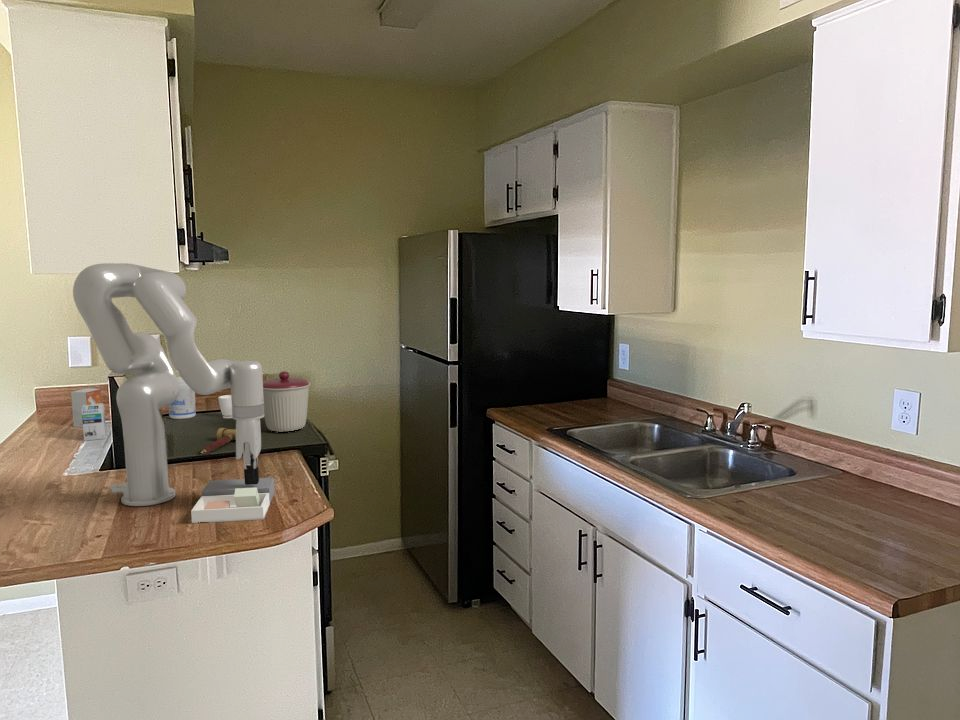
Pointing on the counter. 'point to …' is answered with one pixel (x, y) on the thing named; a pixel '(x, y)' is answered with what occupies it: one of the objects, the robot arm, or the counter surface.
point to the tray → (229, 510)
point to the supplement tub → (183, 402)
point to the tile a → (217, 505)
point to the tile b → (246, 497)
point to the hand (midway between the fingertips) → (252, 483)
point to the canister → (285, 402)
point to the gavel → (221, 439)
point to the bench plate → (229, 487)
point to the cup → (226, 405)
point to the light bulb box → (93, 421)
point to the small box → (83, 402)
